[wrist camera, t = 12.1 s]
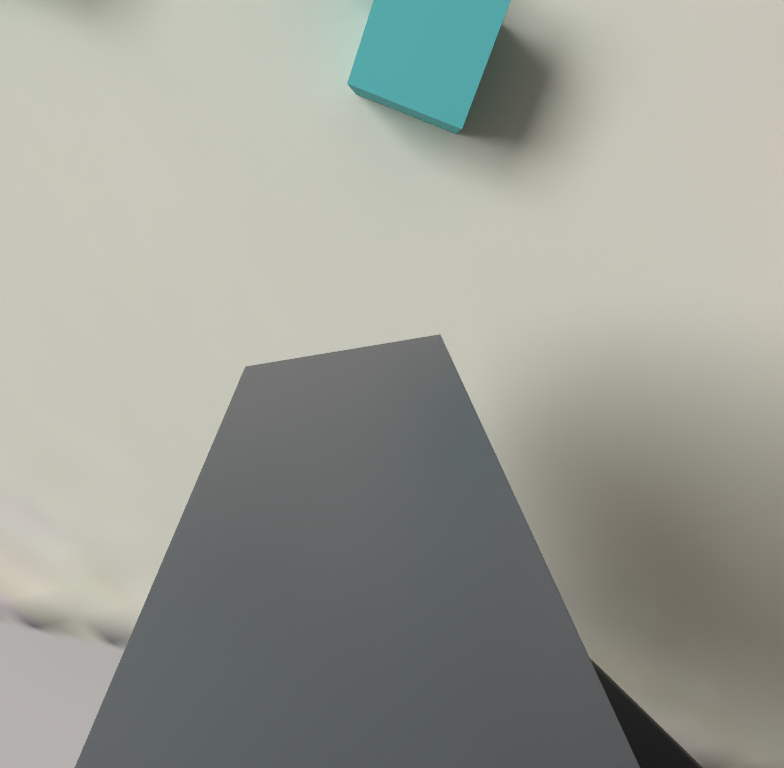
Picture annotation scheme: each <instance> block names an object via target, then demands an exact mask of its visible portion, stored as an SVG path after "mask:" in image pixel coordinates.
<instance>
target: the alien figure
mask: <svg viewBox="0 0 784 768" xmlns="http://www.w3.org/2000/svg"><path fill="white" fill-rule="evenodd" d="M510 1H511V0H374V2H373V5H372V8H371V11H370V14H369V17H368V21H367V24H366V27H365V30H364V33H363V36H362V39H361V43H360V46H359V49H358V52H357V55H356V58H355V61H354V65H353V68H352V71H351V74H350V77H349V80H348V83H347V84H348V85H349V86H350V88H351V89H352V90H353V91H354V92H355V94H357V95H359V96H362V97H364V98H367V99H370V100H372V101H375V102H377V103H380V104H382V105H385V106H387V107H390V108H392V109H395V110H397V111H400V112H402V113H405V114H407V115H410V116H412V117H415V118H418V119H420V120H423V121H425V122H428V123H430V124H433V125H435V126H438V127H440V128H443V129H445V130H448V131H450V132H453V133H455V134H457V133H458V132H459V131H461V130H462V128H463V125H464V123H465V120H466V117H467V115H468V112H469V109H470V107H471V104H472V101H473V99H474V96H475V94H476V91H477V88H478V86H479V83H480V80H481V78H482V75H483V72H484V70H485V67H486V64H487V62H488V59H489V56H490V54H491V51H492V48H493V46H494V43H495V40H496V38H497V35H498V32H499V30H500V27H501V24H502V22H503V19H504V16H505V14H506V11H507V9H508V6H509V3H510Z"/></svg>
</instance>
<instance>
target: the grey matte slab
mask: <svg viewBox="0 0 784 768" xmlns="http://www.w3.org/2000/svg"><path fill="white" fill-rule="evenodd" d="M75 768H640V767H639V764H638V762H637V760H636V758H635V756H634V754H633V751H632V749H631V747H630V745H629V743H628V741H627V738H626V736H625V734H624V732H623V730H622V728H621V725H620V723H619V721H618V719H617V717H616V715H615V712H614V710H613V708H612V706H611V704H610V702H609V699H608V697H607V695H606V693H605V691H604V689H603V686H602V684H601V682H600V680H599V678H598V676H597V673H596V671H595V669H594V667H593V665H592V663H591V660H590V658H589V656H588V654H587V652H586V650H585V647H584V645H583V643H582V641H581V639H580V637H579V634H578V632H577V630H576V628H575V626H574V624H573V621H572V619H571V617H570V615H569V613H568V610H567V608H566V606H565V604H564V602H563V600H562V597H561V595H560V593H559V591H558V589H557V587H556V584H555V582H554V580H553V578H552V576H551V574H550V571H549V569H548V567H547V565H546V563H545V561H544V558H543V556H542V554H541V552H540V550H539V548H538V545H537V543H536V541H535V539H534V537H533V535H532V532H531V530H530V528H529V526H528V524H527V522H526V519H525V517H524V515H523V513H522V511H521V509H520V506H519V504H518V502H517V500H516V498H515V496H514V493H513V491H512V489H511V487H510V485H509V483H508V480H507V478H506V476H505V474H504V472H503V470H502V467H501V465H500V463H499V461H498V459H497V457H496V454H495V452H494V450H493V448H492V446H491V444H490V441H489V439H488V437H487V435H486V433H485V431H484V428H483V426H482V424H481V422H480V420H479V417H478V415H477V413H476V411H475V409H474V407H473V404H472V402H471V400H470V398H469V396H468V394H467V391H466V389H465V387H464V385H463V383H462V381H461V378H460V376H459V374H458V372H457V370H456V368H455V365H454V363H453V361H452V359H451V357H450V355H449V352H448V350H447V348H446V346H445V344H444V342H443V339H442V337H441V335H434V336H428V337H422V338H416V339H410V340H404V341H398V342H392V343H386V344H380V345H374V346H368V347H362V348H356V349H350V350H344V351H338V352H332V353H326V354H320V355H313V356H307V357H301V358H295V359H289V360H283V361H277V362H271V363H265V364H259V365H253V366H247V367H245V369H244V371H243V374H242V376H241V378H240V381H239V383H238V386H237V388H236V390H235V393H234V395H233V397H232V400H231V402H230V404H229V407H228V409H227V411H226V414H225V416H224V418H223V421H222V423H221V425H220V428H219V430H218V432H217V435H216V437H215V440H214V442H213V444H212V447H211V449H210V451H209V454H208V456H207V458H206V461H205V463H204V465H203V468H202V470H201V472H200V475H199V477H198V479H197V482H196V484H195V486H194V489H193V491H192V494H191V496H190V498H189V501H188V503H187V505H186V508H185V510H184V512H183V515H182V517H181V519H180V522H179V524H178V526H177V529H176V531H175V533H174V536H173V538H172V540H171V543H170V545H169V548H168V550H167V552H166V555H165V557H164V559H163V562H162V564H161V566H160V569H159V571H158V573H157V576H156V578H155V580H154V583H153V585H152V587H151V590H150V592H149V594H148V597H147V599H146V602H145V604H144V606H143V609H142V611H141V613H140V616H139V618H138V620H137V623H136V625H135V627H134V630H133V632H132V634H131V637H130V639H129V641H128V644H127V646H126V649H125V651H124V653H123V656H122V658H121V660H120V663H119V665H118V667H117V670H116V672H115V675H114V677H113V679H112V681H111V684H110V686H109V688H108V691H107V693H106V696H105V698H104V700H103V703H102V705H101V707H100V710H99V712H98V715H97V717H96V719H95V721H94V724H93V726H92V728H91V731H90V733H89V735H88V738H87V740H86V743H85V745H84V747H83V750H82V752H81V754H80V757H79V759H78V761H77V764H76V766H75Z"/></svg>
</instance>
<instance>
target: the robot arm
mask: <svg viewBox="0 0 784 768" xmlns="http://www.w3.org/2000/svg"><path fill="white" fill-rule="evenodd" d="M590 660H591V659H590ZM591 663H592V665H593V667H594V669H595V671H596V673H597V676H598V678H599V680H600V682H601V684H602V686H603V689H604V691H605V693H606V695H607V697H608V699H609V702H610V704H611V706H612V708H613V710H614V712H615V715H616V717H617V719H618V721H619V723H620V725H621V728H622V730H623V732H624V734H625V736H626V738H627V741H628V743H629V745H630V747H631V749H632V751H633V754H634V756H635V758H636V760H637V762H638V764H639V767H640V768H703V767H702V766H701V765H700V764H699V763H698V762H697V761H696V760H694V759H693V758H692V757H691V756H690V755H689V754H688V753H687V752H686V751H685V750H684V749H683V748H682V747H681V746H680V745H679V744H678V743H677V742H676V741H675V740H674V739H673V738H672V737H671V736H670V735H669V734H668V733H667V732H666V731H665V730H664V729H663V728H661V727H660V726H659V725H658V724H657V723H656V722H655V721H654V720H653V719H652V718H651V717H650V716H649V715H648V714H647V713H646V712H645V711H644V710H643V709H642V708H641V707H640V706H639V705H638V704H637V703H636V702H635V701H634V700H633V699H632V698H631V697H629V696H628V695H627V694H626V693H625V692H624V691H623V690H622V689H621V688H620V687H619V686H618V685H617V684H616V683H615V682H614V681H613V680H612V679H611V678H610V677H609V676H608V675H607V674H606V673H605V672H604V671H603V670H602V669H601V668H600V667H599V666H598V665H596V664H595V663H594V662H593V661H592V660H591Z"/></svg>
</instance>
